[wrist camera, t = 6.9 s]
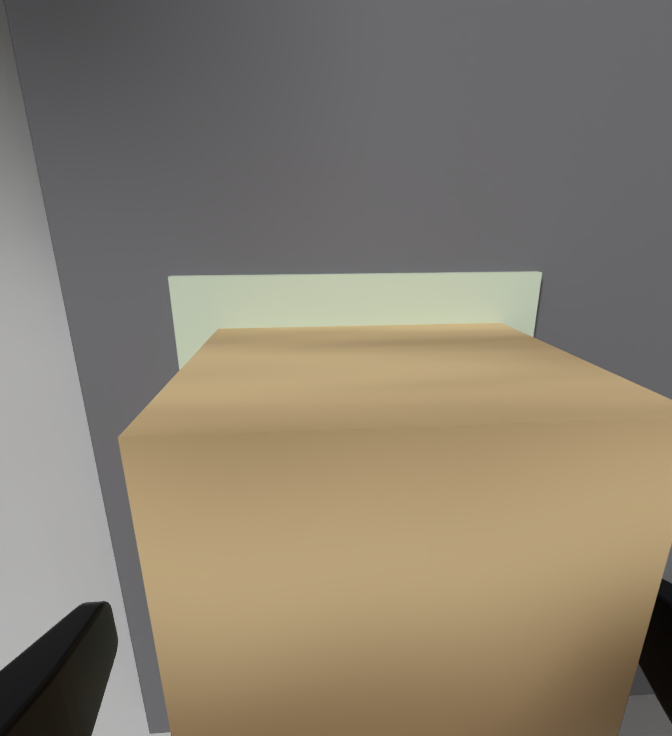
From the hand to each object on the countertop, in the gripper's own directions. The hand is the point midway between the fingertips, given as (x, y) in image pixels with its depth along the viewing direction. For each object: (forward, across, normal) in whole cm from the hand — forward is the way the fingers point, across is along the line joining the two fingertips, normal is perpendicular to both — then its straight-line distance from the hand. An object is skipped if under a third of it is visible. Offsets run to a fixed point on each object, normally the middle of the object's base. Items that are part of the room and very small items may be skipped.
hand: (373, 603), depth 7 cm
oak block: (+2, 0, 0) cm, 2 cm away
